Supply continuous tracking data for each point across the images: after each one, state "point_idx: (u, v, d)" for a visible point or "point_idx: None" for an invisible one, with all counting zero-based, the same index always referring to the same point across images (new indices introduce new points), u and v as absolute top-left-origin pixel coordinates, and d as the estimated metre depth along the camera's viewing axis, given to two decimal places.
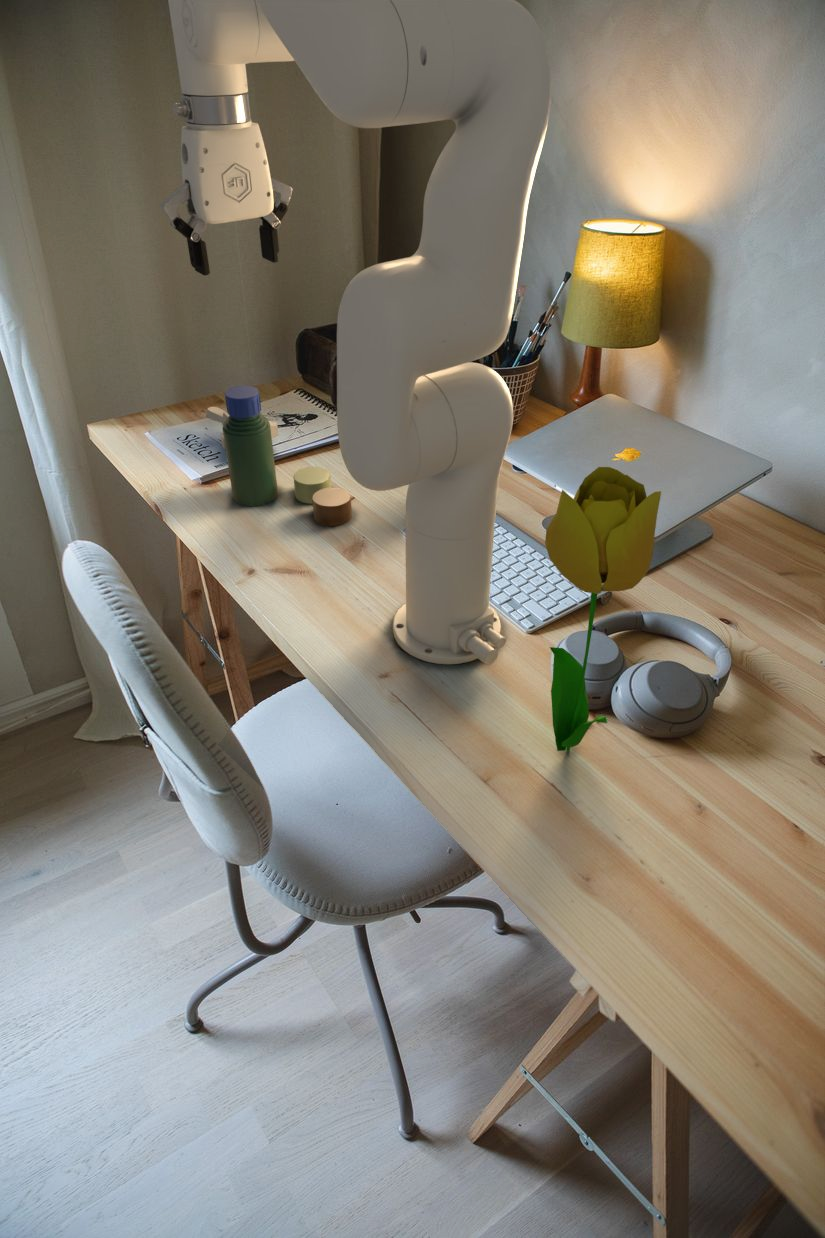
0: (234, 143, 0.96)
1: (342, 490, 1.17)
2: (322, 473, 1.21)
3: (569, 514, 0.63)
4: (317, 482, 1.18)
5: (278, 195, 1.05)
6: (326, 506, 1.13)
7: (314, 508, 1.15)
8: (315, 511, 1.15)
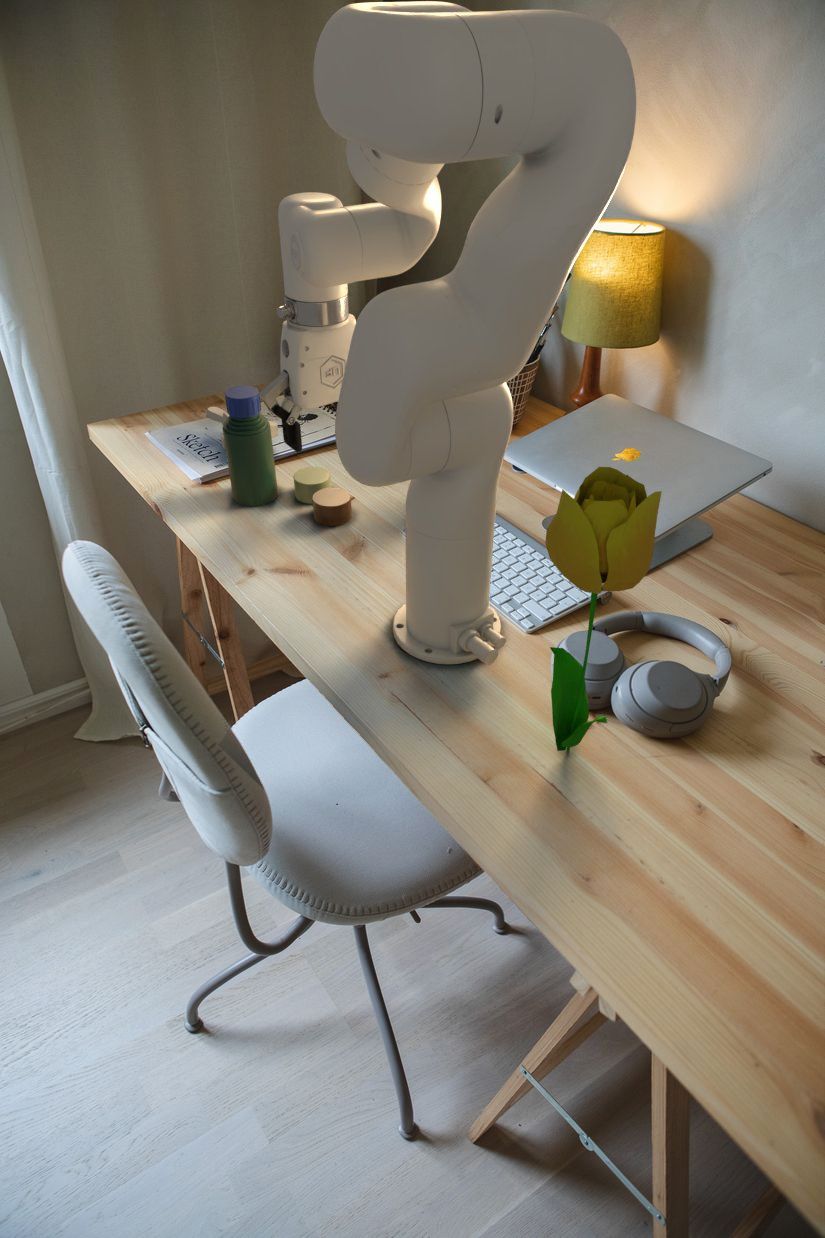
0: (333, 339, 1.00)
1: (342, 490, 1.17)
2: (322, 473, 1.21)
3: (570, 514, 0.63)
4: (317, 482, 1.18)
5: None
6: (326, 506, 1.13)
7: (314, 508, 1.15)
8: (315, 511, 1.15)
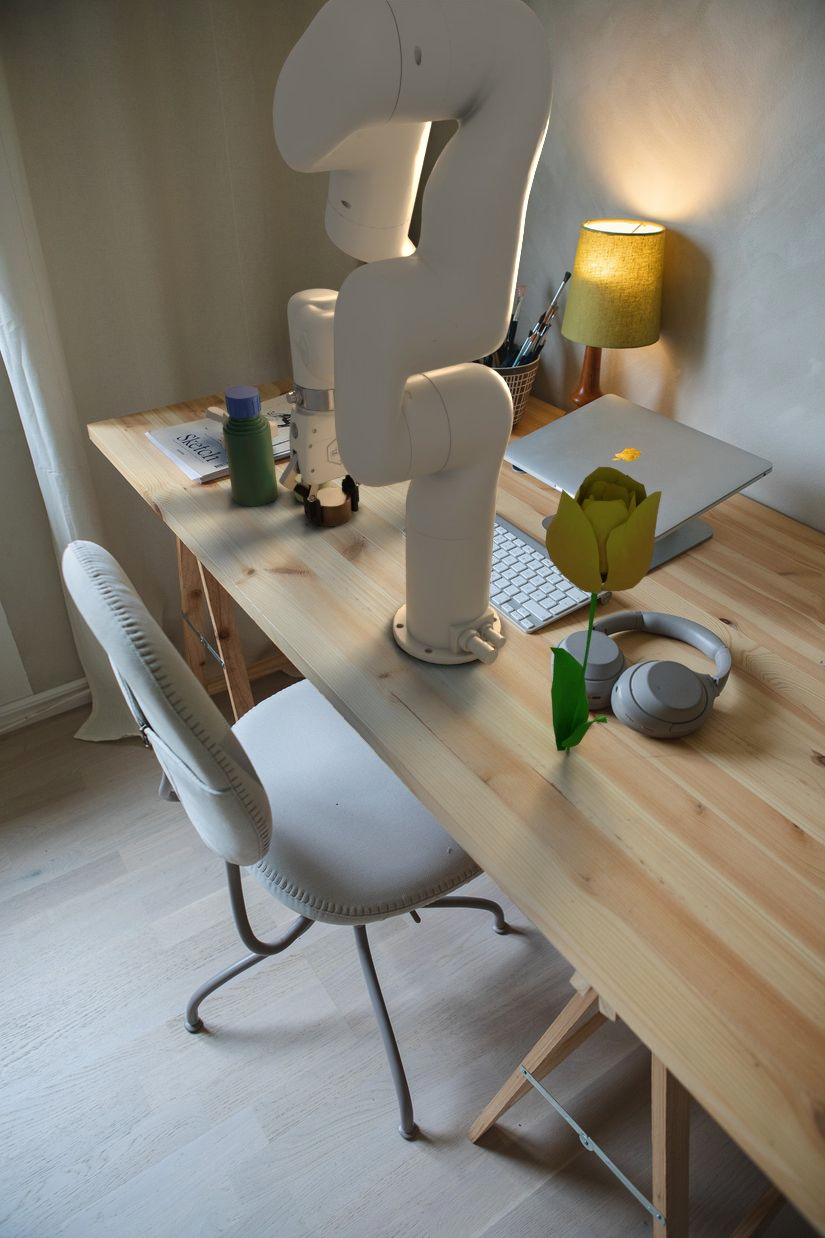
0: None
1: (342, 490, 1.17)
2: None
3: (570, 514, 0.63)
4: None
5: None
6: (326, 506, 1.13)
7: None
8: None
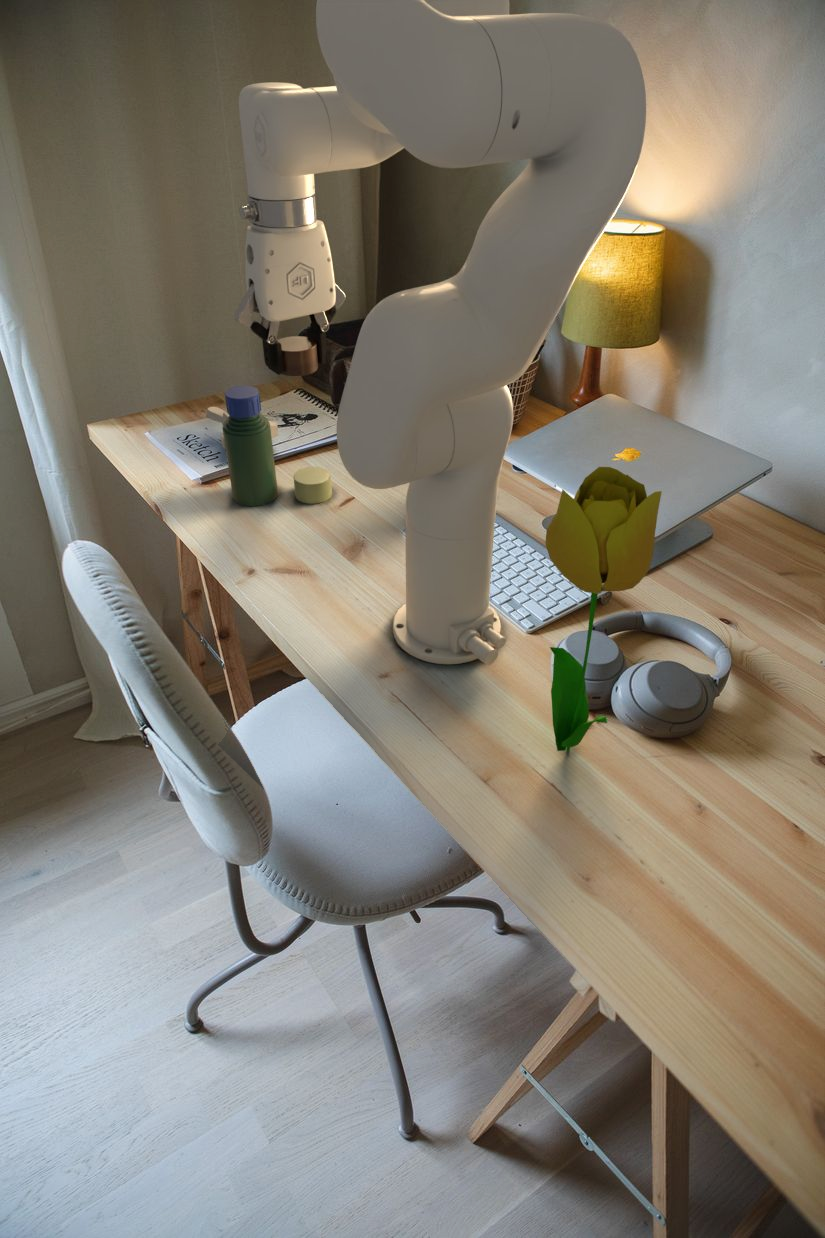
0: (299, 244, 0.95)
1: (307, 338, 1.05)
2: (322, 473, 1.21)
3: (570, 514, 0.63)
4: (317, 482, 1.18)
5: None
6: (288, 351, 1.02)
7: None
8: None
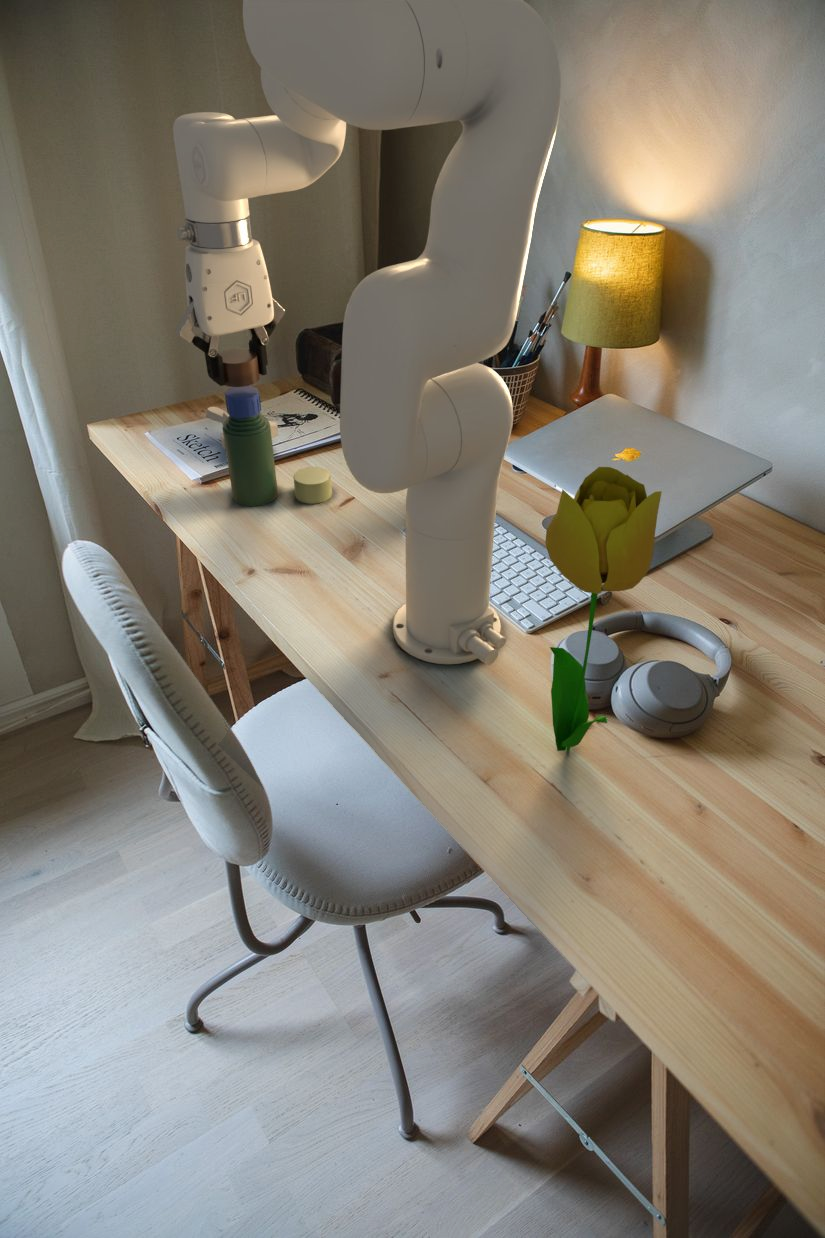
0: (236, 263, 1.00)
1: (249, 351, 1.11)
2: (322, 473, 1.21)
3: (570, 514, 0.63)
4: (317, 482, 1.18)
5: None
6: (229, 363, 1.07)
7: None
8: None
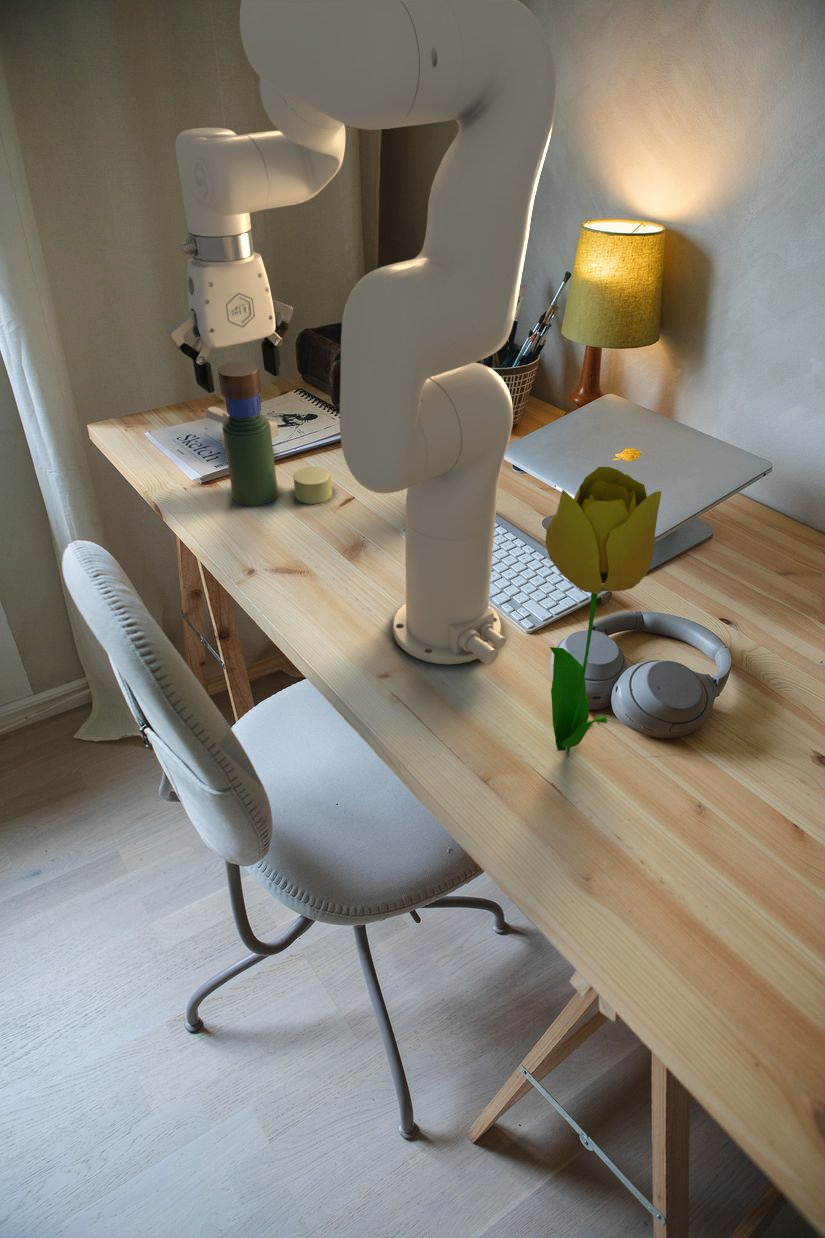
0: (237, 276, 1.01)
1: (250, 363, 1.12)
2: (322, 473, 1.21)
3: (570, 514, 0.63)
4: (317, 482, 1.18)
5: (279, 314, 1.10)
6: (231, 376, 1.08)
7: (220, 380, 1.10)
8: (221, 383, 1.10)
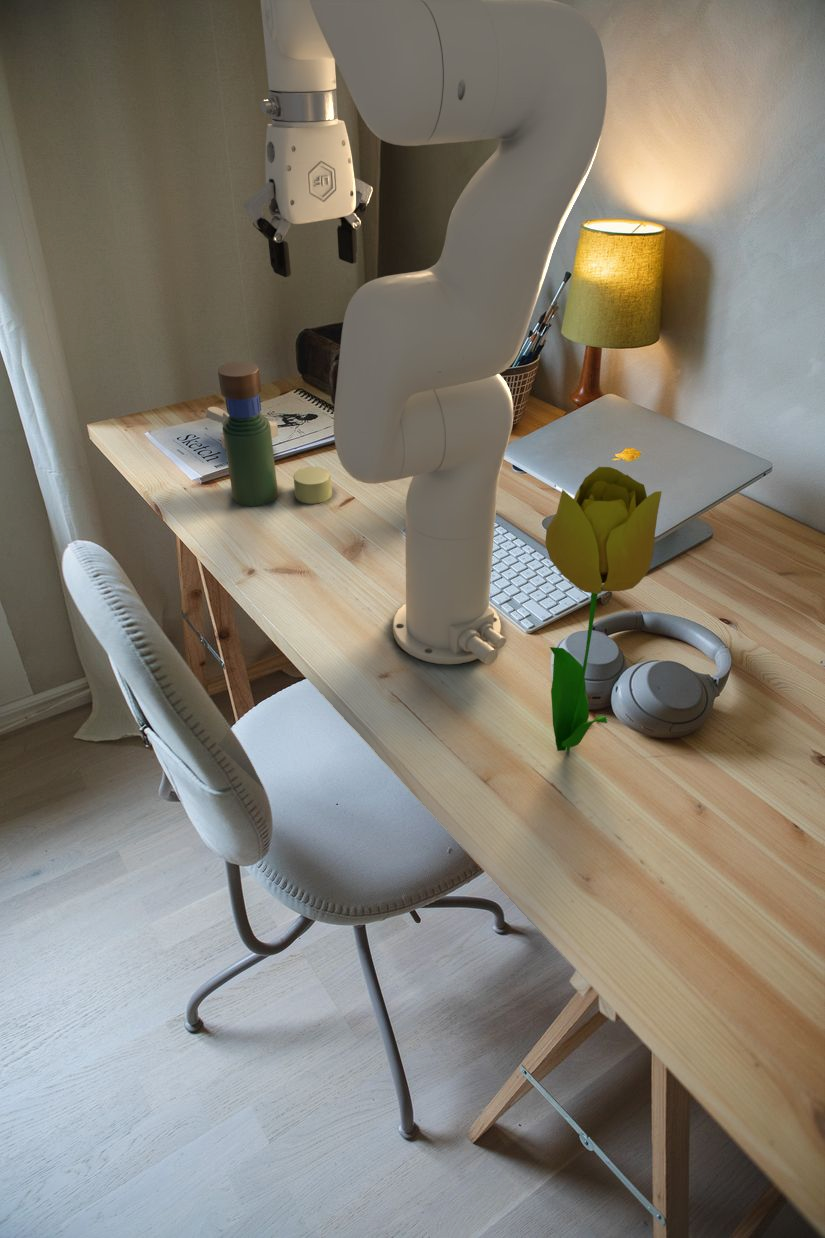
0: (321, 141, 0.93)
1: (250, 363, 1.12)
2: (322, 473, 1.21)
3: (570, 514, 0.63)
4: (317, 482, 1.18)
5: (358, 194, 1.03)
6: (231, 376, 1.08)
7: (220, 380, 1.10)
8: (221, 383, 1.10)
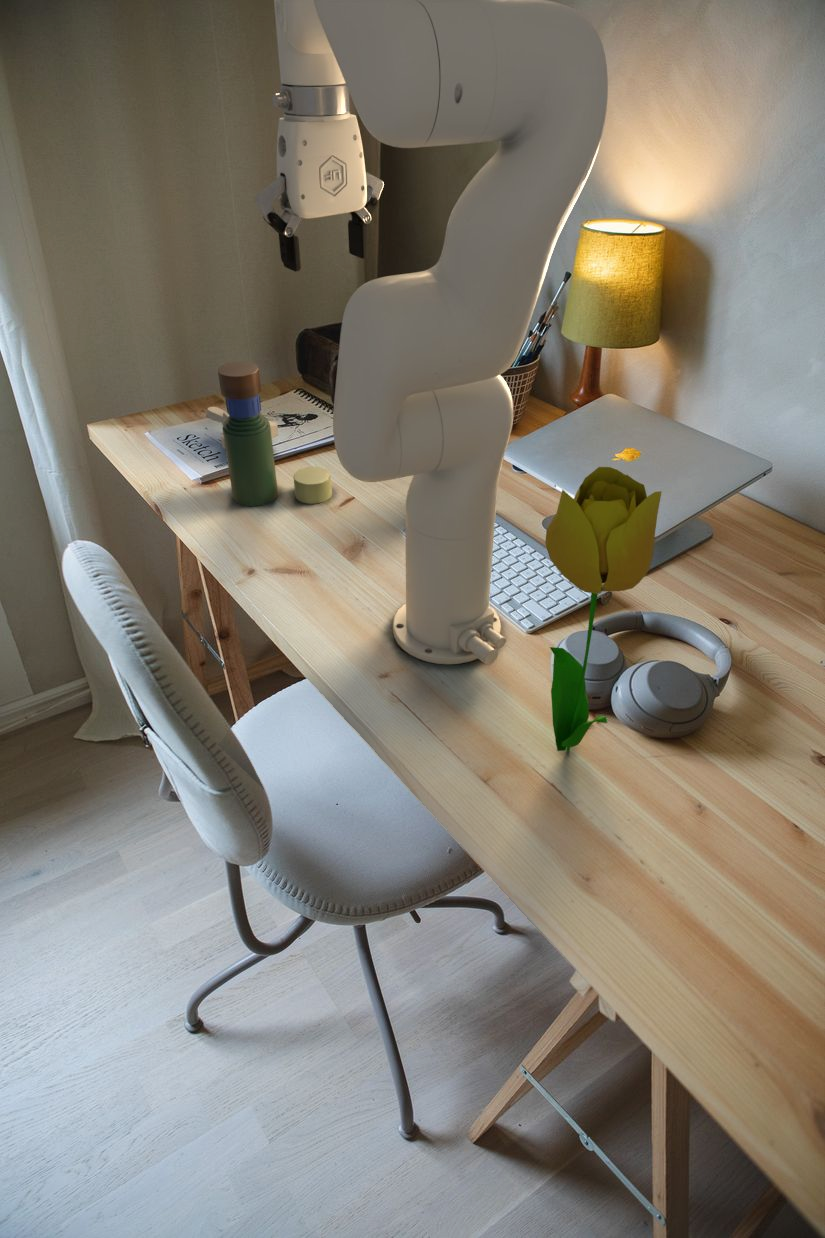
0: (332, 135, 0.93)
1: (250, 363, 1.12)
2: (322, 473, 1.21)
3: (570, 514, 0.63)
4: (317, 482, 1.18)
5: (369, 189, 1.02)
6: (231, 376, 1.08)
7: (220, 380, 1.10)
8: (221, 383, 1.10)
